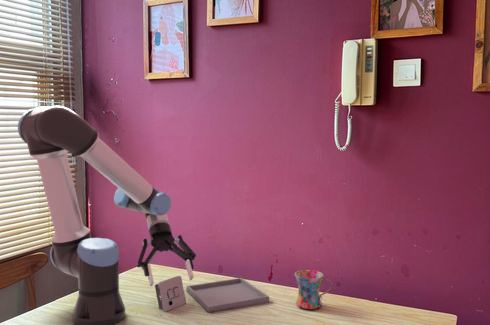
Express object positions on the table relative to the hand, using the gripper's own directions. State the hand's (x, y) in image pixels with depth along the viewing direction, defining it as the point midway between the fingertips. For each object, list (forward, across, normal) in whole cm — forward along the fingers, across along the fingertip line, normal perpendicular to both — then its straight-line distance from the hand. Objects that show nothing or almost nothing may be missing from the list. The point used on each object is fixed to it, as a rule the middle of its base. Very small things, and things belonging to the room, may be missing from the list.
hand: (172, 281), depth 149 cm
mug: (+21, -40, +11) cm, 47 cm away
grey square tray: (+7, -18, -3) cm, 20 cm away
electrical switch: (+7, +2, -4) cm, 8 cm away
